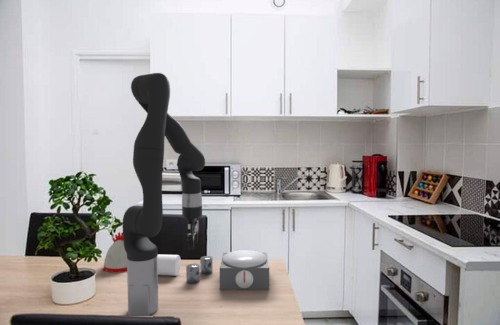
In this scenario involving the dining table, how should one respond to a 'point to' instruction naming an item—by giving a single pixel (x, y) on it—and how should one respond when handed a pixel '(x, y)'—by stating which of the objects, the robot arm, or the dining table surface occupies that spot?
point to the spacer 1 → (192, 273)
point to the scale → (244, 271)
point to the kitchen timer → (116, 256)
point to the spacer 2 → (206, 265)
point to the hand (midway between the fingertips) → (192, 246)
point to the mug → (169, 264)
